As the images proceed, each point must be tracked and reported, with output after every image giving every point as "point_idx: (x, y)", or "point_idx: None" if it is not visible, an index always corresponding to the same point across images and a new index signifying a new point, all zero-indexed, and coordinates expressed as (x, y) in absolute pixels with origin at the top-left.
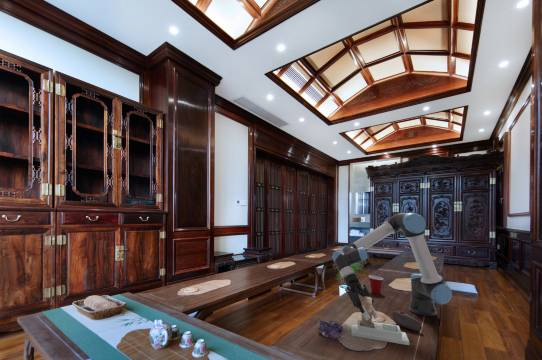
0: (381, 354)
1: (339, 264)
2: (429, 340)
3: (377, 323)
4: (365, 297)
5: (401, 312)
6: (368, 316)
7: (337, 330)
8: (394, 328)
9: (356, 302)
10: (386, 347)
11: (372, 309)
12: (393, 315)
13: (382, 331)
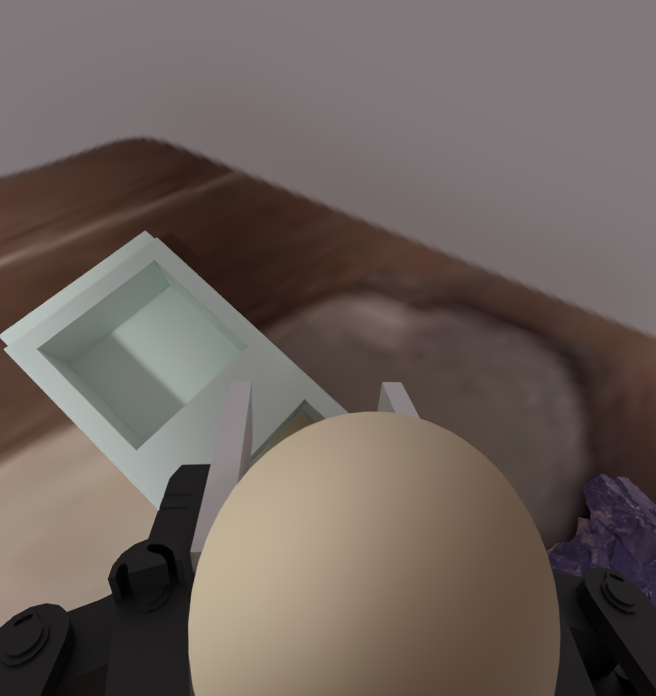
0: (419, 251)
1: None
2: None
3: None
4: (389, 666)
5: None
6: (404, 394)
7: (607, 557)
8: (66, 371)
9: (647, 617)
10: (327, 288)
11: (242, 474)
12: None
13: (270, 342)
